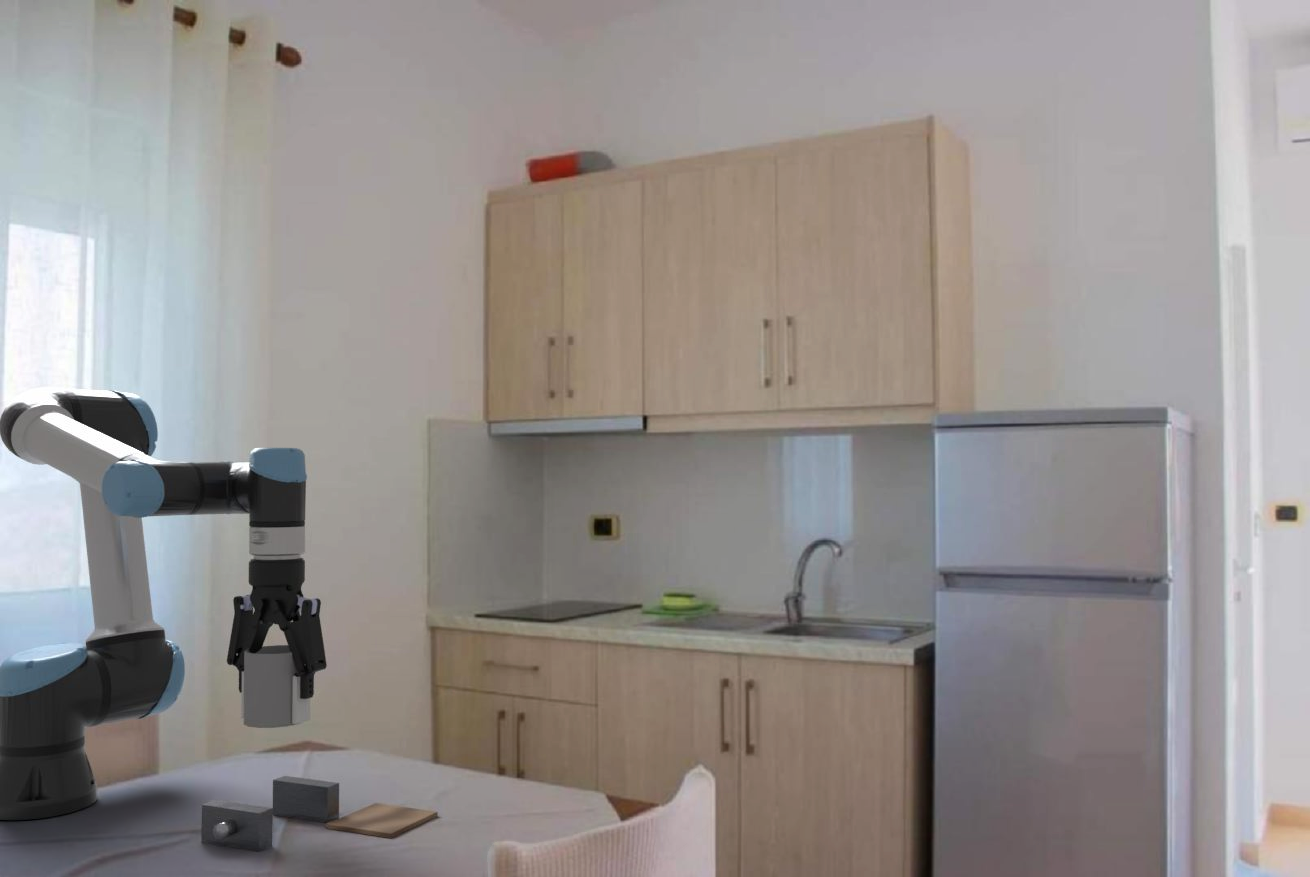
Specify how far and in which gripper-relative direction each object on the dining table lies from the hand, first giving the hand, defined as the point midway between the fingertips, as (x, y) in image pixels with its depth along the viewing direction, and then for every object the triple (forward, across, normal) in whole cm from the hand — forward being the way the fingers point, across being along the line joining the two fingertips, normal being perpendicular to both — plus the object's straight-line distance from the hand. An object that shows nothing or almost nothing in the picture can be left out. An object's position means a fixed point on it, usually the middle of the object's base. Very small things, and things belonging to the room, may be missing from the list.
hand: (275, 719), depth 158 cm
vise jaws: (+15, 0, 0) cm, 15 cm away
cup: (+1, 0, 0) cm, 1 cm away
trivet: (+15, +12, +9) cm, 21 cm away
